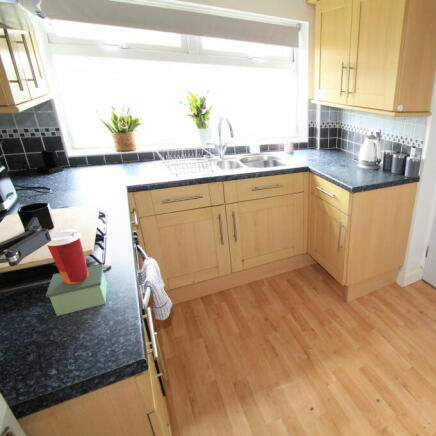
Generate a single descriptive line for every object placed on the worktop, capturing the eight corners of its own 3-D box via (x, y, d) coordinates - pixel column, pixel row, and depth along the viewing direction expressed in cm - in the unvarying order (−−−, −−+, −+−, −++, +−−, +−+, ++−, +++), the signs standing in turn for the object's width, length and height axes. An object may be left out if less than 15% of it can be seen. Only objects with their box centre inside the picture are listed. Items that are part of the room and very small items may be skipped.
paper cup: (98, 269, 95) (84, 227, 89) (84, 285, 88) (69, 240, 82) (68, 271, 93) (53, 228, 88) (52, 287, 86) (35, 242, 81)
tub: (54, 317, 86) (45, 295, 83) (61, 295, 95) (53, 274, 92) (107, 304, 92) (100, 282, 89) (108, 284, 101) (102, 263, 98)
